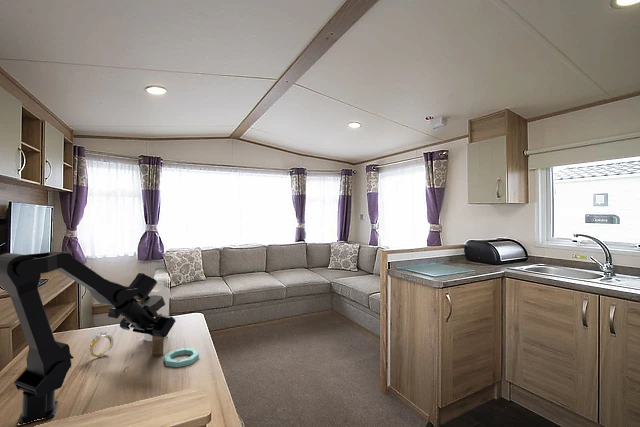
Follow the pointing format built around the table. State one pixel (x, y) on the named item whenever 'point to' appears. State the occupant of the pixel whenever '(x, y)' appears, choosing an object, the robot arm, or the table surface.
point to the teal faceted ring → (182, 362)
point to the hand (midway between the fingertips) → (161, 334)
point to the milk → (164, 292)
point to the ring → (99, 336)
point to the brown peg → (157, 344)
